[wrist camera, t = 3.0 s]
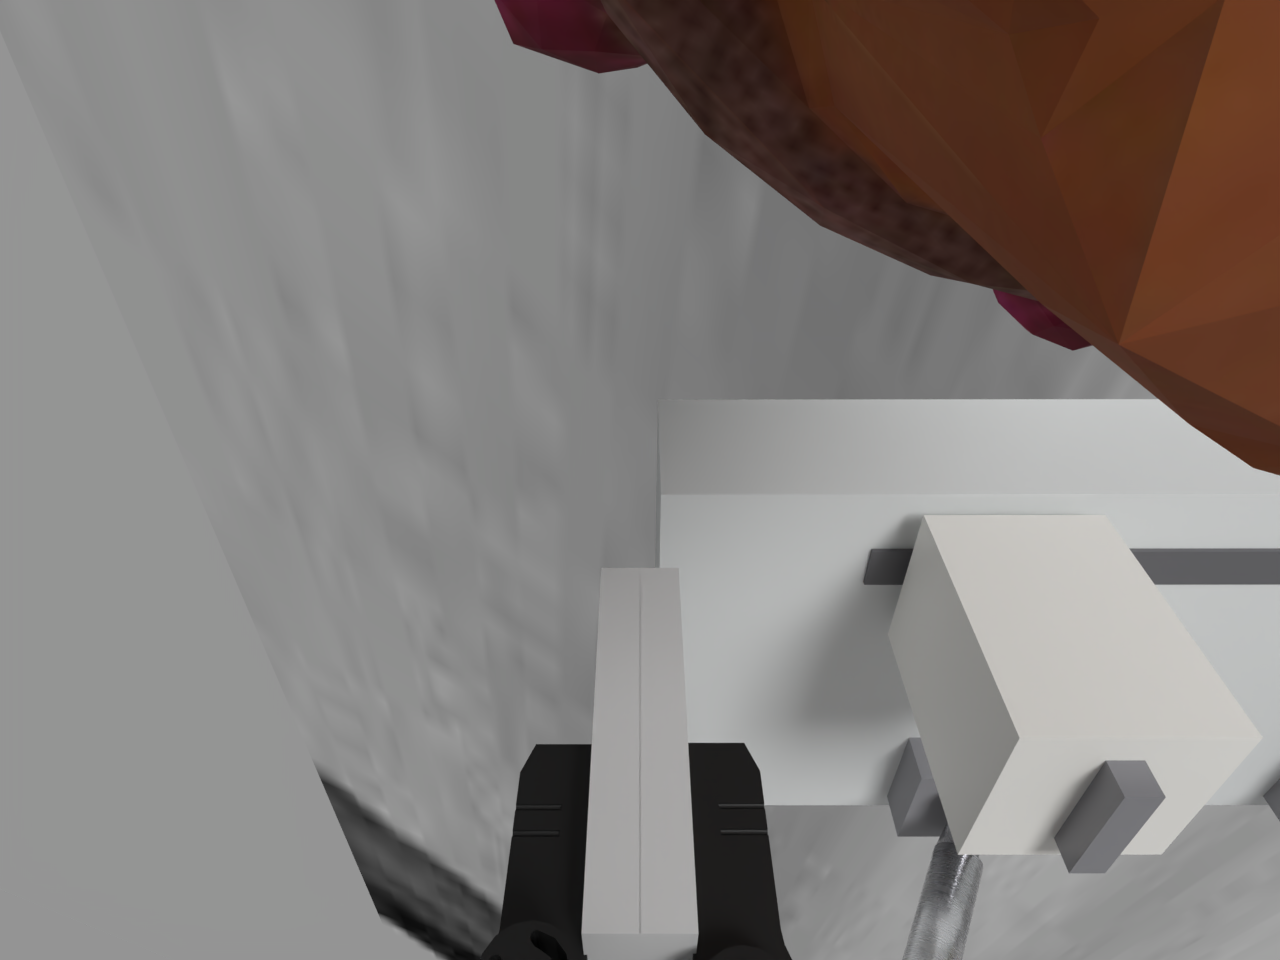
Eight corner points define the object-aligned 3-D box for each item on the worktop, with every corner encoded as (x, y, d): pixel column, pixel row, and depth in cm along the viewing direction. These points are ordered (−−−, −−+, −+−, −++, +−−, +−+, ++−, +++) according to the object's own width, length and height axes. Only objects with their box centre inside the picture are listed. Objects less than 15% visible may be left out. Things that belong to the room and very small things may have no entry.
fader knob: (923, 514, 15) (1035, 775, 11) (1105, 514, 15) (1288, 775, 11) (887, 634, 18) (969, 889, 13) (1046, 634, 18) (1179, 889, 13)
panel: (658, 384, 18) (662, 519, 14) (1734, 384, 18) (2012, 518, 14) (652, 705, 26) (655, 845, 22) (1406, 704, 26) (1533, 844, 22)
